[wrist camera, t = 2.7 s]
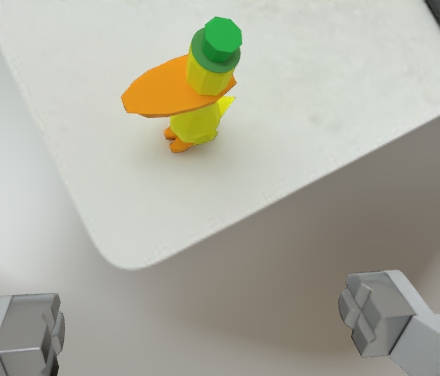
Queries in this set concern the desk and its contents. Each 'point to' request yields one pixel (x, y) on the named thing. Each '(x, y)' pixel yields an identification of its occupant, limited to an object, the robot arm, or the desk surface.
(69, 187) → the desk surface
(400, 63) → the desk surface
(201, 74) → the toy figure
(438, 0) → the cell phone
